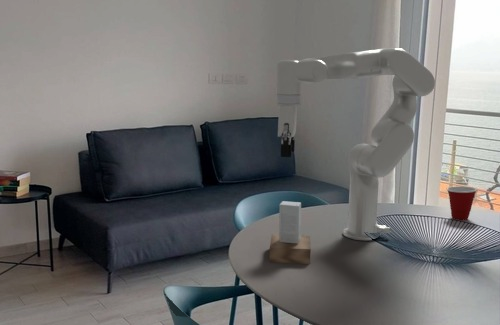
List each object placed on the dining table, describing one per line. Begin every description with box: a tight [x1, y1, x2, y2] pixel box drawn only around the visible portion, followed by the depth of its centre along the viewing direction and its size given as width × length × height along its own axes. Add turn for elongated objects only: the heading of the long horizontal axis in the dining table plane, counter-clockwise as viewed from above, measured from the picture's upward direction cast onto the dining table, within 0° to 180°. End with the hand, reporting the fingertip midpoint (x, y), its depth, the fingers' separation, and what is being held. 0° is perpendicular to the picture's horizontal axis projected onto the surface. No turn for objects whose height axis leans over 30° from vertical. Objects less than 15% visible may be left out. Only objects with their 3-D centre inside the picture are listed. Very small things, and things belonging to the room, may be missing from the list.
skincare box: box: [278, 200, 302, 244], centre depth 164 cm, size 6×4×12 cm
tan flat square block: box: [269, 234, 312, 265], centre depth 166 cm, size 12×12×5 cm
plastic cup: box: [446, 185, 478, 221], centre depth 206 cm, size 11×11×12 cm
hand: (287, 154), depth 172 cm, fingers open, 9 cm apart
